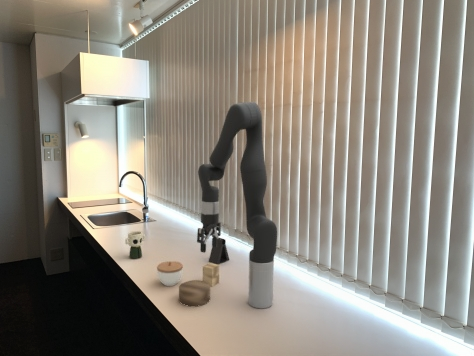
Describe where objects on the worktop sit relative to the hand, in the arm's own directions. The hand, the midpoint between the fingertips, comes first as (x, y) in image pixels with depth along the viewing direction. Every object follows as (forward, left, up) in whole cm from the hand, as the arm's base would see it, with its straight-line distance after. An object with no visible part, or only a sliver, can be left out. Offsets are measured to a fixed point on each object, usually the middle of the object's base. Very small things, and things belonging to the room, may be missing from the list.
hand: (208, 249), depth 148 cm
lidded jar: (+8, -15, -16) cm, 23 cm away
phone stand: (-25, -12, -16) cm, 32 cm away
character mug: (-6, -51, -16) cm, 54 cm away
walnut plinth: (+14, +3, -15) cm, 21 cm away
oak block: (-1, 0, -16) cm, 15 cm away
